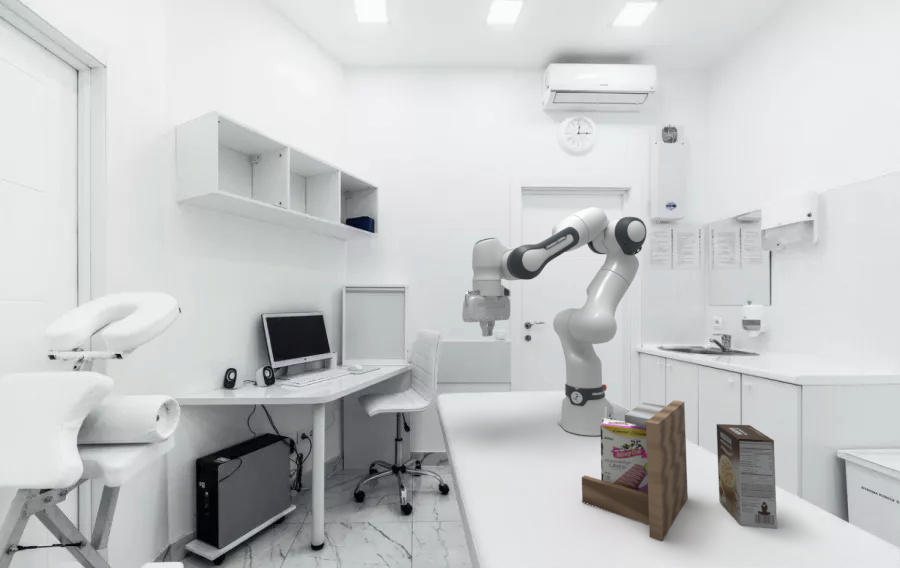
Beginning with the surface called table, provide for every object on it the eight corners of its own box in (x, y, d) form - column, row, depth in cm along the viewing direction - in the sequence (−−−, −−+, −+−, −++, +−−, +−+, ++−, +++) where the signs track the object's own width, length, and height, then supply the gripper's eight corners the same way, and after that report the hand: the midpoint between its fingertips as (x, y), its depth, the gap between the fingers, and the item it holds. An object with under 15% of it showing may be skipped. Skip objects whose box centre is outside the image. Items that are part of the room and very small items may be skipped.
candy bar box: (601, 505, 81) (599, 423, 82) (603, 494, 86) (600, 417, 87) (663, 517, 77) (660, 430, 77) (662, 505, 81) (659, 423, 82)
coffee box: (717, 501, 82) (714, 422, 83) (752, 504, 81) (749, 424, 82) (740, 526, 73) (736, 437, 74) (780, 529, 72) (776, 439, 73)
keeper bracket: (610, 476, 95) (608, 391, 96) (687, 498, 84) (684, 401, 85) (573, 509, 80) (571, 408, 81) (662, 541, 69) (658, 424, 70)
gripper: (473, 290, 113) (474, 339, 112) (513, 291, 128) (514, 334, 127) (457, 290, 117) (457, 338, 116) (497, 291, 132) (497, 333, 132)
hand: (487, 336), depth 122 cm, fingers closed
